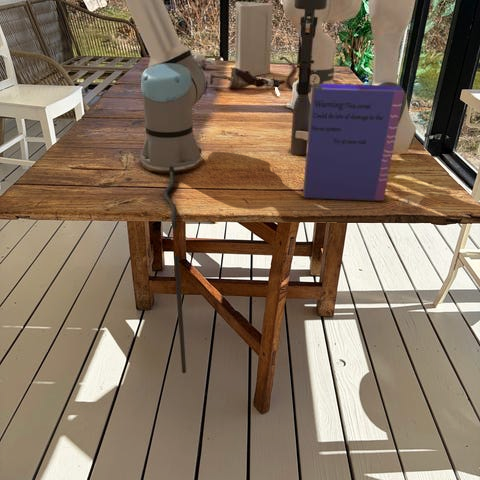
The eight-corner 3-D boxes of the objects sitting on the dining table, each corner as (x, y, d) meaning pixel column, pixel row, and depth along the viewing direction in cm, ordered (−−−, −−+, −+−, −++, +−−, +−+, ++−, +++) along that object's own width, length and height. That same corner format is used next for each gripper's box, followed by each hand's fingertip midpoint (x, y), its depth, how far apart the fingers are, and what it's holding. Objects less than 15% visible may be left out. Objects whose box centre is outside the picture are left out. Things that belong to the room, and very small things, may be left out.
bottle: (309, 150, 132) (315, 85, 123) (304, 156, 129) (309, 89, 119) (293, 148, 134) (298, 83, 125) (288, 153, 130) (292, 87, 121)
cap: (298, 93, 121) (299, 85, 120) (294, 90, 124) (294, 82, 123) (313, 93, 121) (313, 85, 120) (308, 89, 125) (308, 81, 124)
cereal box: (379, 191, 109) (398, 84, 97) (383, 201, 105) (404, 90, 93) (303, 188, 110) (312, 82, 98) (304, 197, 106) (314, 88, 94)
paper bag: (273, 76, 210) (276, 6, 196) (239, 77, 209) (240, 6, 194) (266, 67, 226) (268, 2, 212) (235, 67, 225) (235, 1, 210)
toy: (171, 74, 211) (170, 58, 208) (148, 64, 229) (146, 49, 225) (218, 68, 223) (218, 53, 219) (192, 59, 240) (192, 44, 237)
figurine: (210, 87, 179) (288, 95, 182) (212, 65, 176) (291, 73, 180) (208, 84, 201) (278, 91, 205) (210, 64, 198) (280, 71, 202)
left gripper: (297, -13, 118) (291, 84, 130) (292, -9, 104) (286, 99, 116) (328, -12, 117) (318, 85, 129) (327, -8, 103) (317, 101, 115)
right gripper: (351, 111, 133) (302, 108, 135) (350, 135, 116) (293, 130, 118) (348, 133, 136) (300, 129, 138) (346, 159, 119) (291, 154, 121)
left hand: (303, 92), depth 123 cm, fingers closed on cap, 4 cm apart
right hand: (297, 130), depth 128 cm, fingers closed on bottle, 4 cm apart
